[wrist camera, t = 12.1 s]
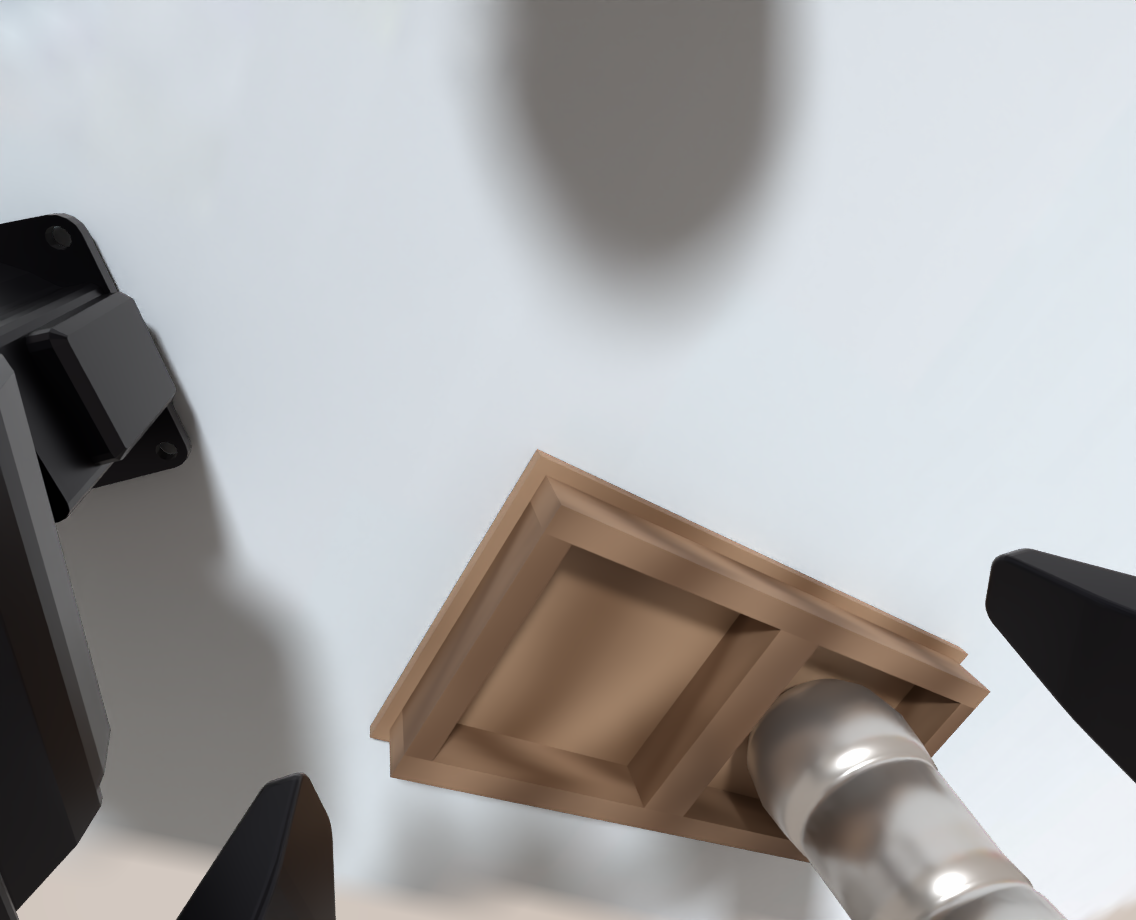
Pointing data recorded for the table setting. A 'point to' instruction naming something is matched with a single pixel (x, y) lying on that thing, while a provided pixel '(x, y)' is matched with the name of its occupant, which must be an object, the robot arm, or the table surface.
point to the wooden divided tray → (639, 665)
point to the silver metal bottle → (879, 812)
